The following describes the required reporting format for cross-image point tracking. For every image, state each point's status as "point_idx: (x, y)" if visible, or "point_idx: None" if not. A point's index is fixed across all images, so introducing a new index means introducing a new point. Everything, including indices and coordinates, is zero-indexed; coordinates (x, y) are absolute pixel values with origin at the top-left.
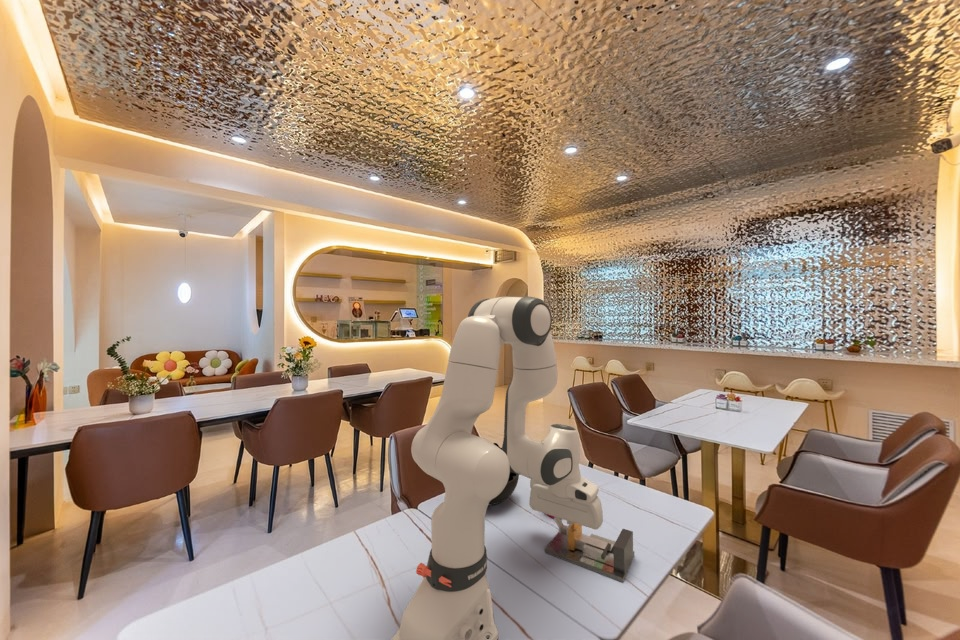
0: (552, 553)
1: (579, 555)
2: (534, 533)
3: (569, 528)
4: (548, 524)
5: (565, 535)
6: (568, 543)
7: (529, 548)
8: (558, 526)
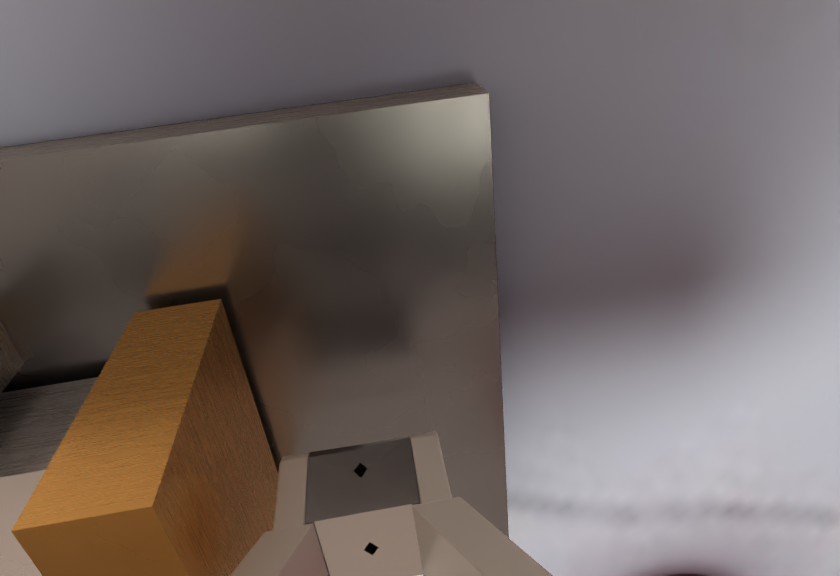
0: (361, 103)
1: (37, 292)
2: (735, 311)
3: (241, 567)
4: (655, 500)
5: None
6: (202, 342)
7: (696, 10)
8: (455, 502)
